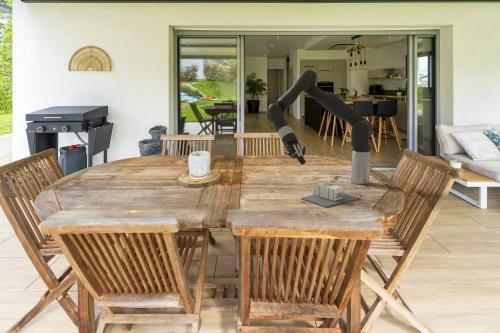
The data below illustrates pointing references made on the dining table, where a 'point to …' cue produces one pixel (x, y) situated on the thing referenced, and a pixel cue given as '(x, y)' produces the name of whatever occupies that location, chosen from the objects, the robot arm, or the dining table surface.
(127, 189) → the dining table surface
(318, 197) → the charcoal mat
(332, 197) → the syrup box
